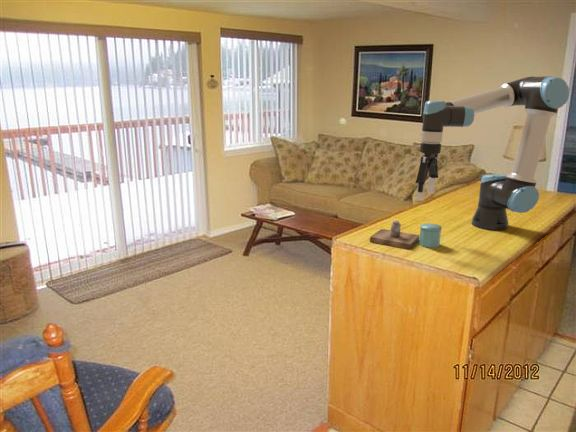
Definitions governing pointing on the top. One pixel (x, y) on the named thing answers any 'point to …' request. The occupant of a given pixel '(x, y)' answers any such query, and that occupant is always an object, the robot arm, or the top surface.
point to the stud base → (394, 237)
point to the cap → (430, 235)
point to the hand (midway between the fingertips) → (425, 197)
